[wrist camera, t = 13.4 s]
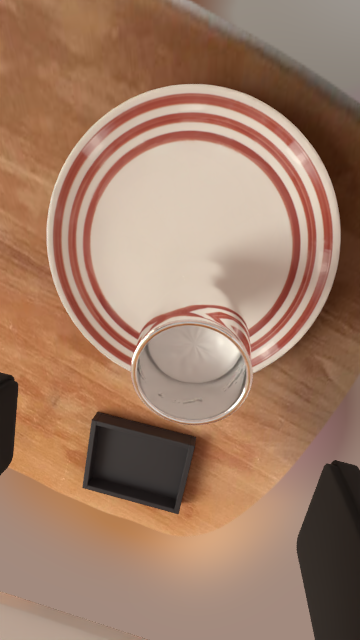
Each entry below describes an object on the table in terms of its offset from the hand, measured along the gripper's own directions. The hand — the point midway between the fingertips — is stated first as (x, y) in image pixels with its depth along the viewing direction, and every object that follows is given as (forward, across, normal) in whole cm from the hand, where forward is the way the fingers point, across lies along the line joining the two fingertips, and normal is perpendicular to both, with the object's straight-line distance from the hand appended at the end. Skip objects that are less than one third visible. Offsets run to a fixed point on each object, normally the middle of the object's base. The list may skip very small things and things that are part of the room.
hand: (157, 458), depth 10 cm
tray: (+26, +4, +21) cm, 34 cm away
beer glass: (+23, +1, -1) cm, 23 cm away
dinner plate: (+26, +3, -4) cm, 27 cm away
